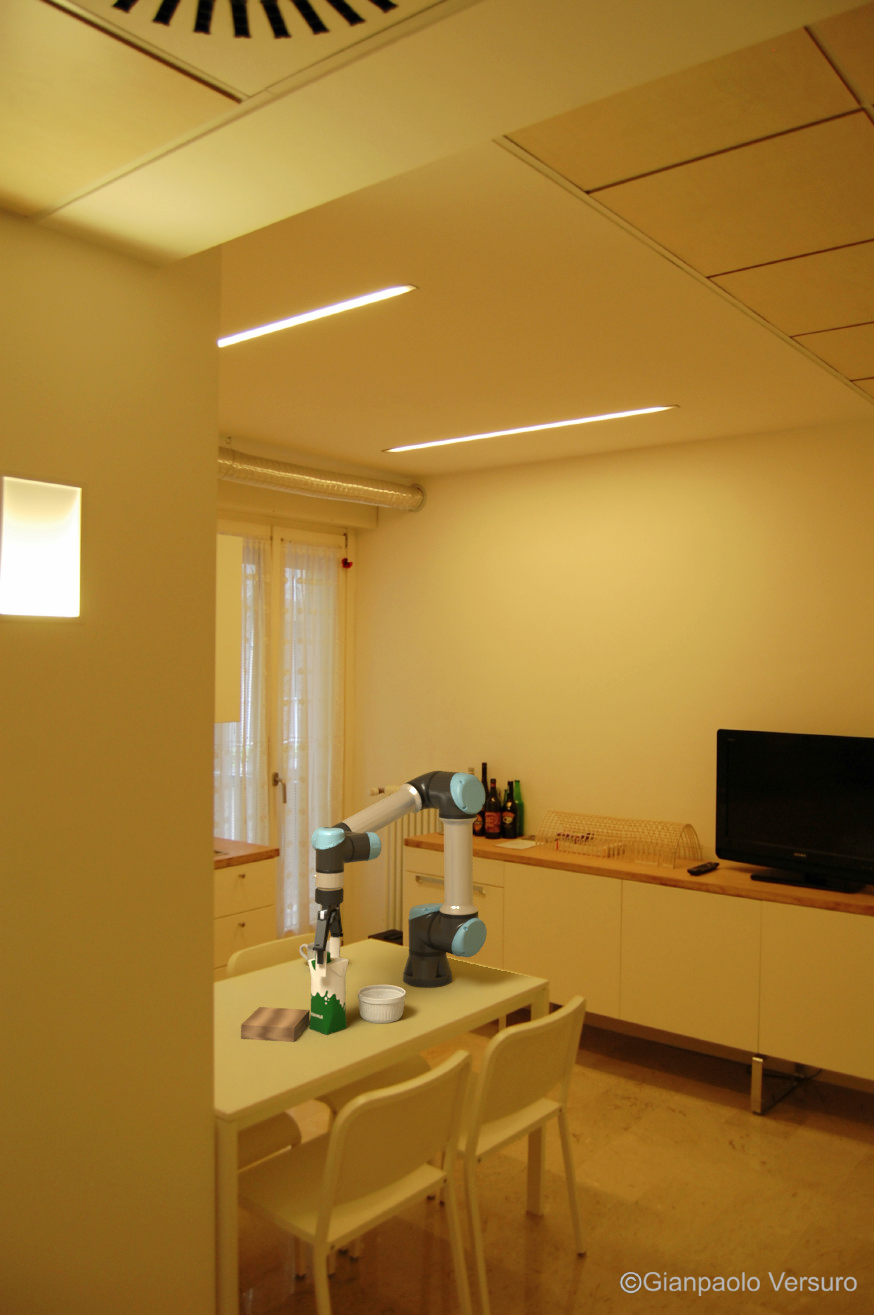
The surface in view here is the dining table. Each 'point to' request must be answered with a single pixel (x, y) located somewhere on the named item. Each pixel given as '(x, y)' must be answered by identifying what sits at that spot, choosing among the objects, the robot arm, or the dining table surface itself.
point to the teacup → (311, 950)
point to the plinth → (275, 1024)
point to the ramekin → (381, 1003)
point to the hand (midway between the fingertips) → (327, 969)
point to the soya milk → (328, 996)
